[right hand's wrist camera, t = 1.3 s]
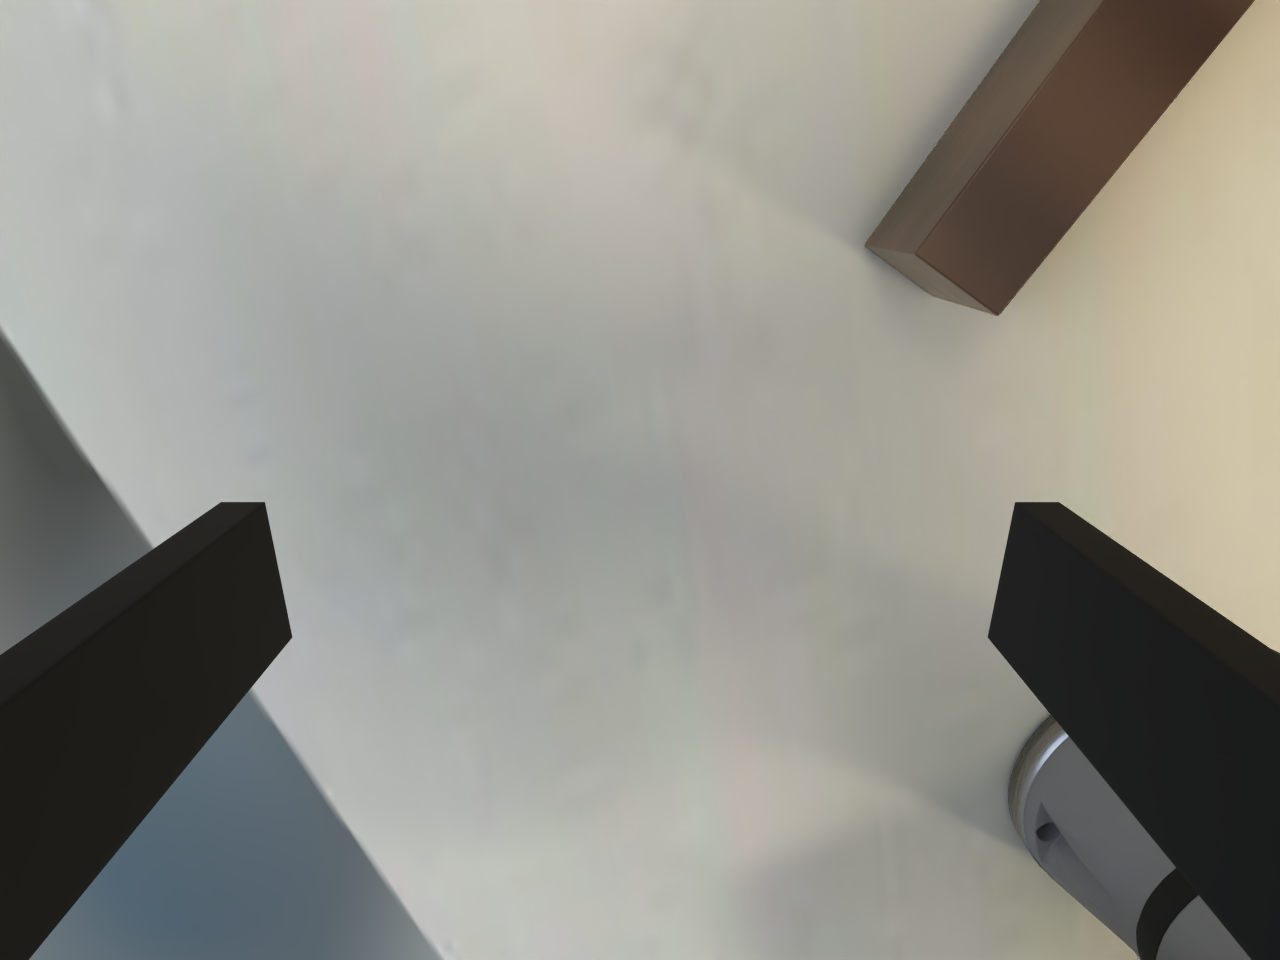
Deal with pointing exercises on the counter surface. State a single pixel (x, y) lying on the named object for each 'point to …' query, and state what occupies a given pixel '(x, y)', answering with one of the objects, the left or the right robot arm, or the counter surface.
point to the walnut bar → (1043, 140)
